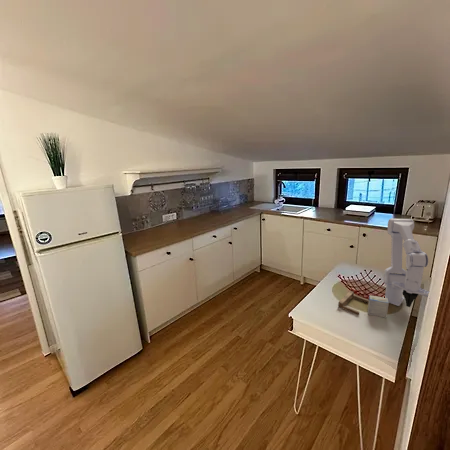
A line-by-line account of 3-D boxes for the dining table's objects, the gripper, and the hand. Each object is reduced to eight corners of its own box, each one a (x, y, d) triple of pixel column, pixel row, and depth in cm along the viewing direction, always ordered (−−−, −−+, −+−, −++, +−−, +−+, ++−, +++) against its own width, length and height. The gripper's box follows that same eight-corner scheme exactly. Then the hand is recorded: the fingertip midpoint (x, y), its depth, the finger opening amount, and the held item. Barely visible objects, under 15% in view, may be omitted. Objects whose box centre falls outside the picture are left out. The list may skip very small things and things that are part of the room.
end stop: (349, 295, 141) (350, 290, 140) (369, 302, 134) (369, 297, 133) (338, 306, 133) (338, 301, 132) (358, 315, 125) (358, 310, 124)
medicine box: (385, 312, 126) (387, 297, 123) (386, 318, 122) (389, 302, 119) (367, 309, 129) (369, 294, 126) (367, 314, 125) (369, 299, 123)
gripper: (391, 276, 112) (387, 303, 116) (432, 288, 102) (426, 317, 106) (396, 271, 117) (392, 296, 121) (436, 281, 106) (430, 309, 110)
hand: (408, 305), depth 114 cm, fingers closed
